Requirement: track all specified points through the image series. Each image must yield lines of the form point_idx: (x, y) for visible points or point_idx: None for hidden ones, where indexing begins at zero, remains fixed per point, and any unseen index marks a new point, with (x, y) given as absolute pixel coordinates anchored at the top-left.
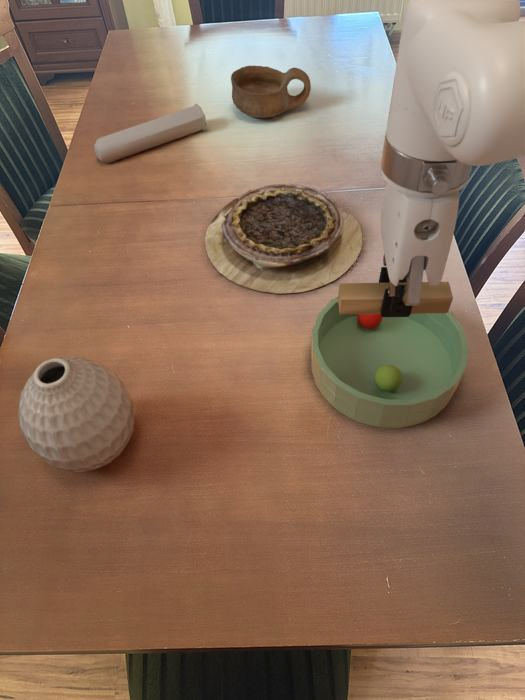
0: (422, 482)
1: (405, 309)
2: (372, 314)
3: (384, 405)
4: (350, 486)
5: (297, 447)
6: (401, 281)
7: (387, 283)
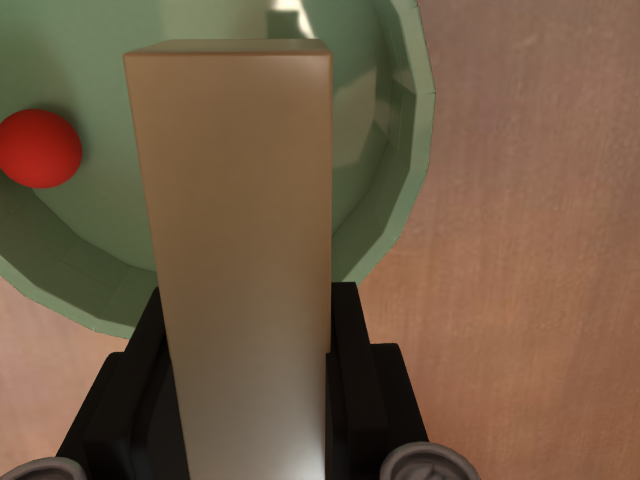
0: (557, 44)
1: (407, 378)
2: (42, 156)
3: (426, 171)
4: (536, 211)
5: (433, 309)
6: (174, 401)
7: (195, 463)
